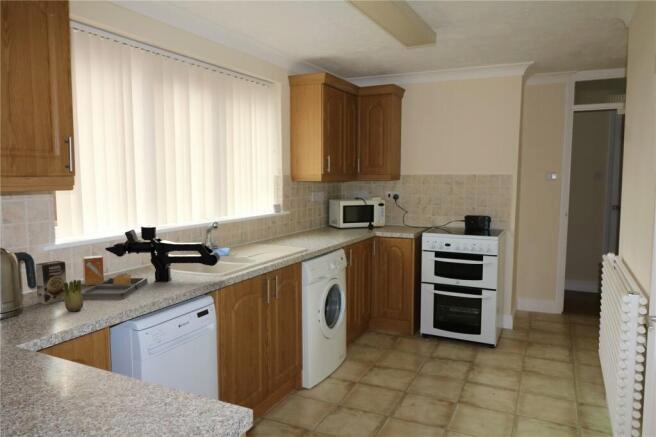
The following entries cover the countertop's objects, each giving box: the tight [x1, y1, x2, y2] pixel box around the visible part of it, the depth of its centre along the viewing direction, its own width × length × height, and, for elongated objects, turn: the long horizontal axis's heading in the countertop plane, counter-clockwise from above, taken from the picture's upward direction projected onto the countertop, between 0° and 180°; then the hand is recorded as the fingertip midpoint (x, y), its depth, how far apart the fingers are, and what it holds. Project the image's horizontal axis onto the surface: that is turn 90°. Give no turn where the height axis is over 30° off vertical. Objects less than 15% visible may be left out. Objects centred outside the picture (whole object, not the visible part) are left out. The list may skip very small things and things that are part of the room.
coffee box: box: [35, 260, 67, 305], centre depth 194 cm, size 9×6×16 cm
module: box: [113, 272, 132, 284], centre depth 219 cm, size 5×7×6 cm
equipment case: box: [95, 277, 149, 291], centre depth 219 cm, size 18×14×2 cm
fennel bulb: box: [64, 279, 84, 312], centre depth 181 cm, size 6×5×12 cm
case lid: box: [81, 285, 137, 300], centre depth 205 cm, size 18×15×2 cm
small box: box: [82, 255, 105, 287], centre depth 224 cm, size 8×6×13 cm
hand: (109, 247), depth 229 cm, fingers open, 9 cm apart
